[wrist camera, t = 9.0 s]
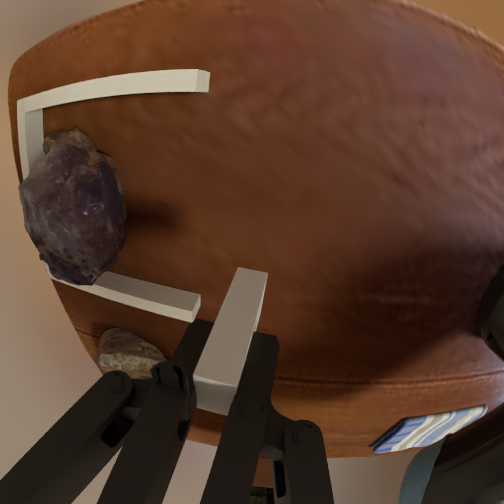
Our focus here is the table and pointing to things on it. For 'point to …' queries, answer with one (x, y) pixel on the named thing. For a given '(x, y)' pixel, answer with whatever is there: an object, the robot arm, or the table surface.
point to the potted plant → (262, 483)
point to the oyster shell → (127, 353)
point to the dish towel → (427, 429)
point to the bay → (32, 152)
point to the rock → (74, 208)
